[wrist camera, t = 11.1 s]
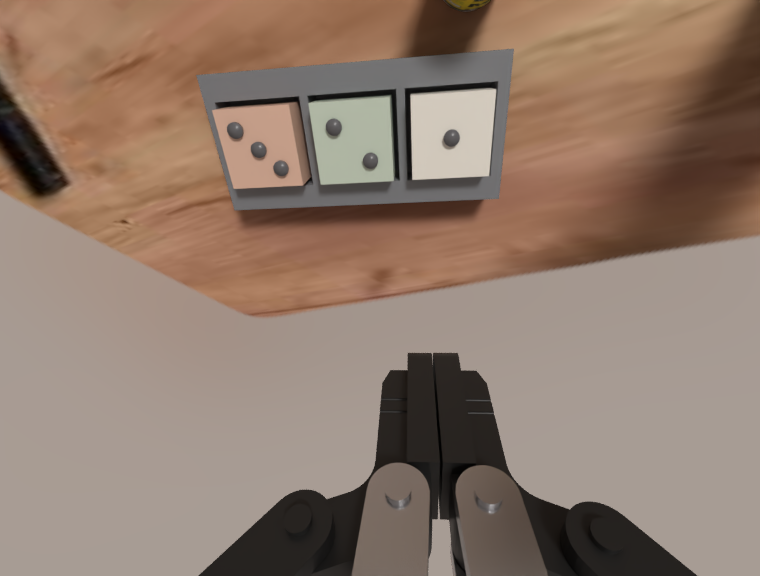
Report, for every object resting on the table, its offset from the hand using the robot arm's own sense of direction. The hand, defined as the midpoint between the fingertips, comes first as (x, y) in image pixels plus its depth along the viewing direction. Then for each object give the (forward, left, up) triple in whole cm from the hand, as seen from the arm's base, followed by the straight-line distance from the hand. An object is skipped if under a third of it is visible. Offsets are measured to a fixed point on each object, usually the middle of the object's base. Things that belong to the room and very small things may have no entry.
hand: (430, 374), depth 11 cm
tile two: (+5, -4, -22) cm, 23 cm away
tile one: (-2, -4, -22) cm, 23 cm away
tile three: (+12, -4, -22) cm, 25 cm away
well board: (+5, -4, -24) cm, 25 cm away
